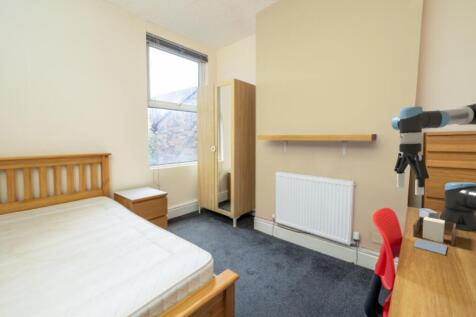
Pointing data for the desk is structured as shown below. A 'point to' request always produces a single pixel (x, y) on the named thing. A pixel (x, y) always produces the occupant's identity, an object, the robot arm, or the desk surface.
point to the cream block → (433, 229)
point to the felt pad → (430, 246)
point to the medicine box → (428, 213)
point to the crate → (449, 229)
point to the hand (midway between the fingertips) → (409, 190)
